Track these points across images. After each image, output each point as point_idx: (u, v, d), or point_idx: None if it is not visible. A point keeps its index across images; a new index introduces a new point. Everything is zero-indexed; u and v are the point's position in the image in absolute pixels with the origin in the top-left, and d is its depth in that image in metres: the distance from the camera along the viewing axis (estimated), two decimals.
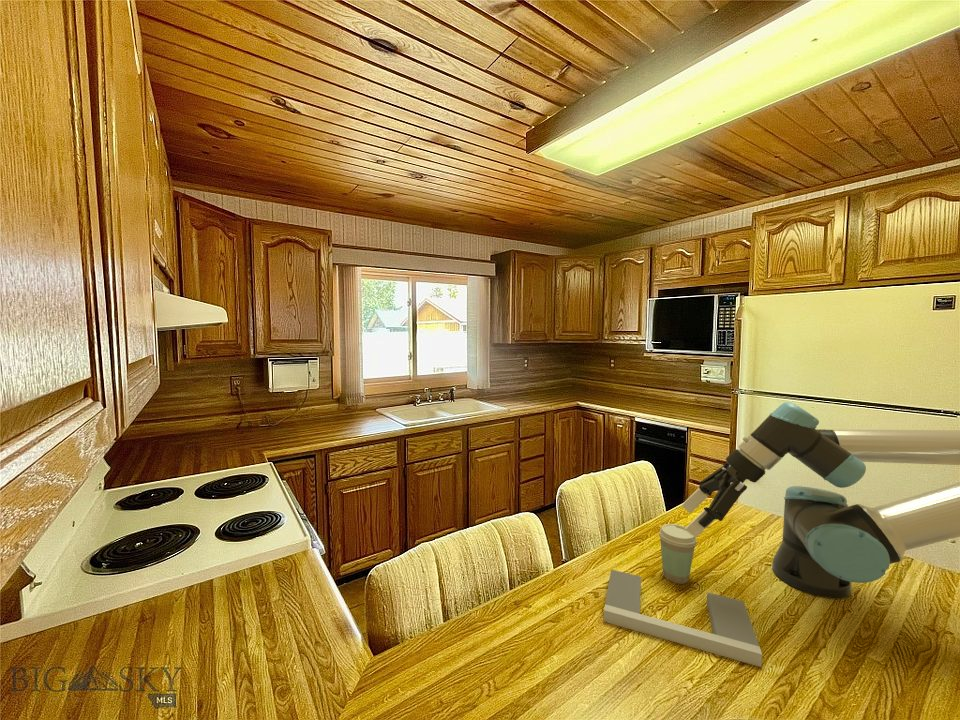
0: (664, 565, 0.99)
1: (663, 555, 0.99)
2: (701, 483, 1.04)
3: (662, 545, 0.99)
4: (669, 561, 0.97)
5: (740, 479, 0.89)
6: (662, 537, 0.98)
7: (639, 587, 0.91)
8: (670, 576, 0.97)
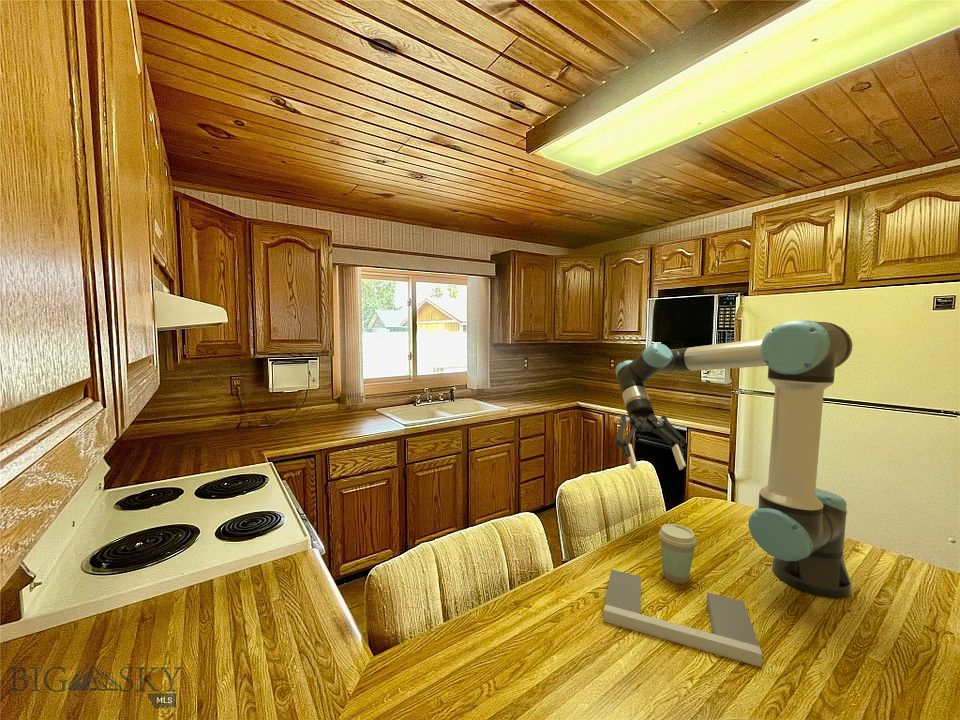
0: (664, 565, 0.99)
1: (663, 555, 0.99)
2: None
3: (662, 545, 0.99)
4: (669, 561, 0.97)
5: (630, 416, 1.19)
6: (662, 537, 0.98)
7: (639, 587, 0.91)
8: (670, 576, 0.97)
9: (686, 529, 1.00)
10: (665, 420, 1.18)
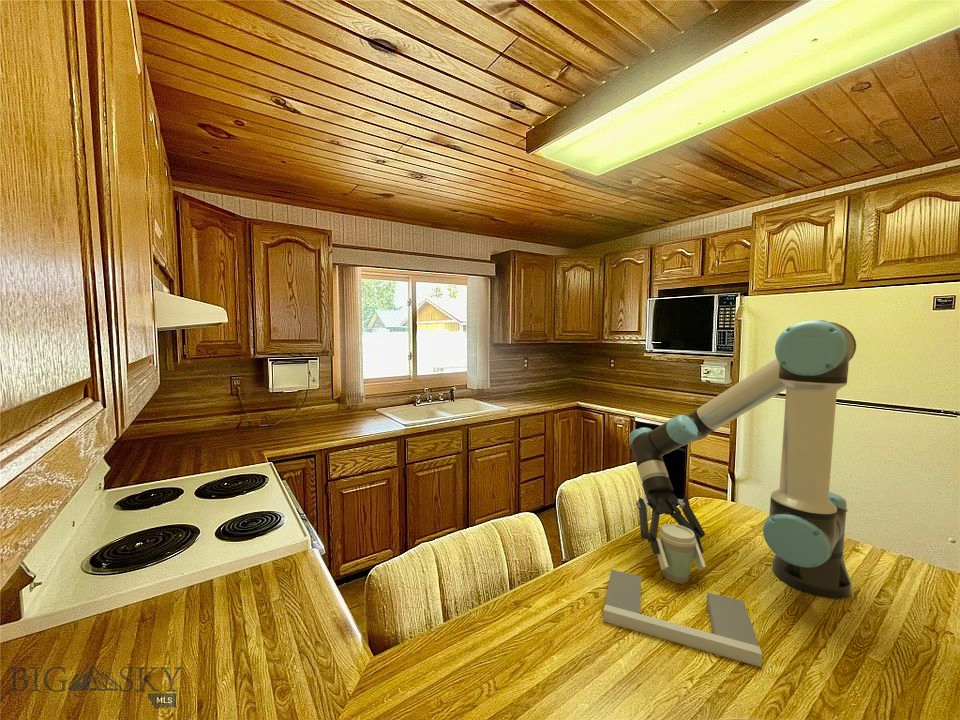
0: None
1: None
2: None
3: (662, 545, 0.99)
4: (669, 561, 0.97)
5: (646, 497, 1.07)
6: (662, 537, 0.98)
7: (639, 587, 0.91)
8: (670, 576, 0.97)
9: (686, 529, 1.00)
10: (686, 504, 1.05)
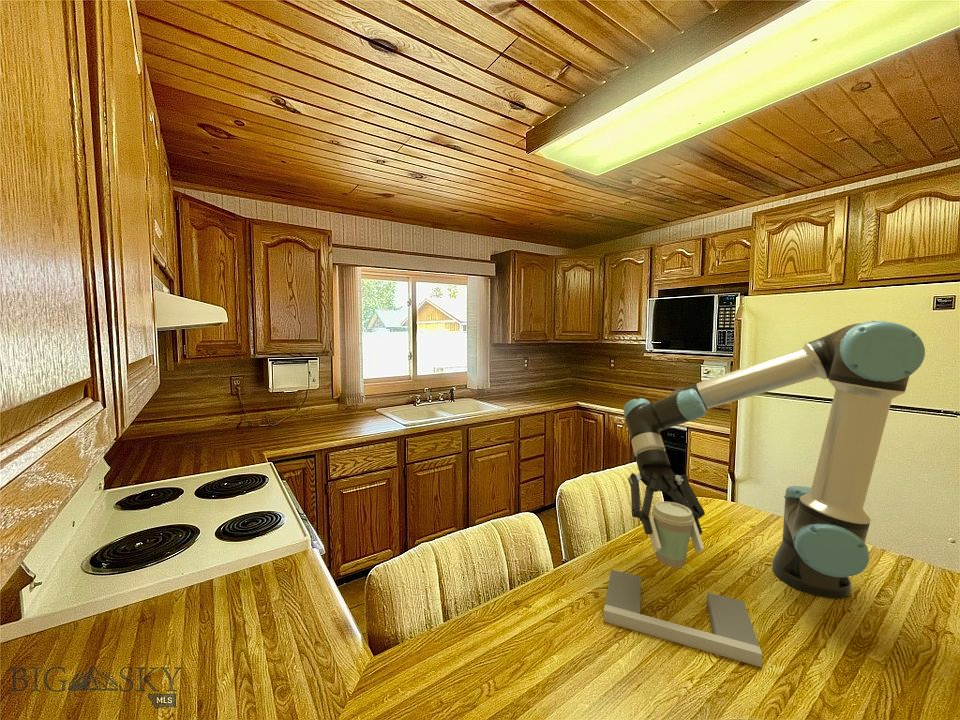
0: None
1: None
2: None
3: (655, 524, 0.88)
4: (662, 542, 0.86)
5: (640, 472, 0.96)
6: (655, 515, 0.87)
7: (639, 587, 0.91)
8: (664, 559, 0.87)
9: (683, 507, 0.89)
10: (685, 481, 0.94)
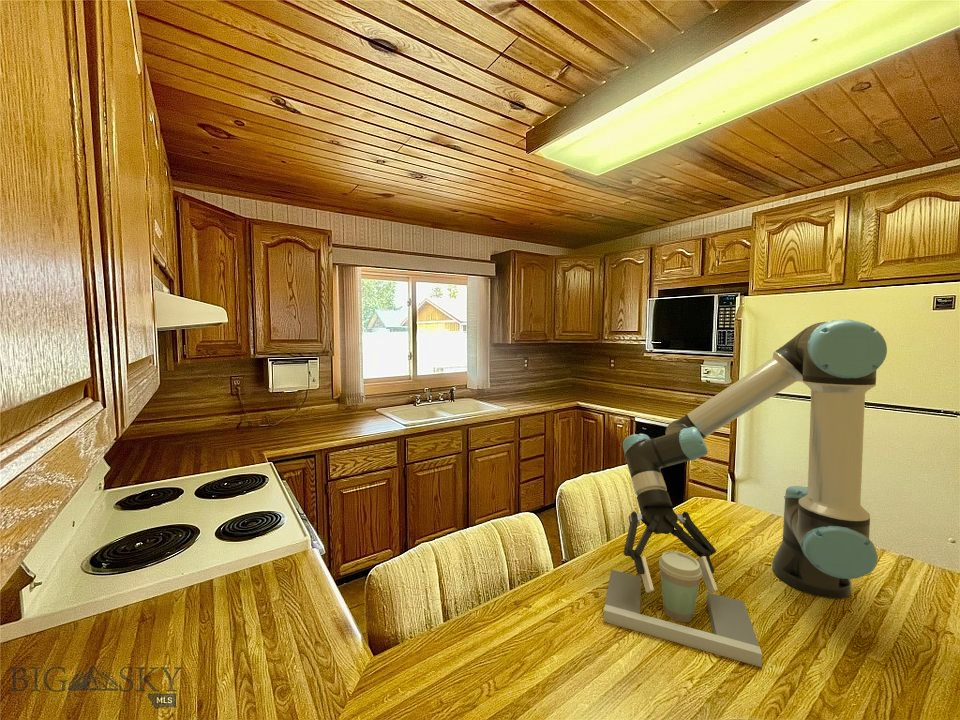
0: (665, 600, 0.86)
1: (664, 588, 0.86)
2: None
3: (662, 577, 0.86)
4: (671, 596, 0.84)
5: None
6: (663, 568, 0.85)
7: (639, 587, 0.91)
8: (672, 613, 0.84)
9: (690, 558, 0.87)
10: (687, 519, 0.92)
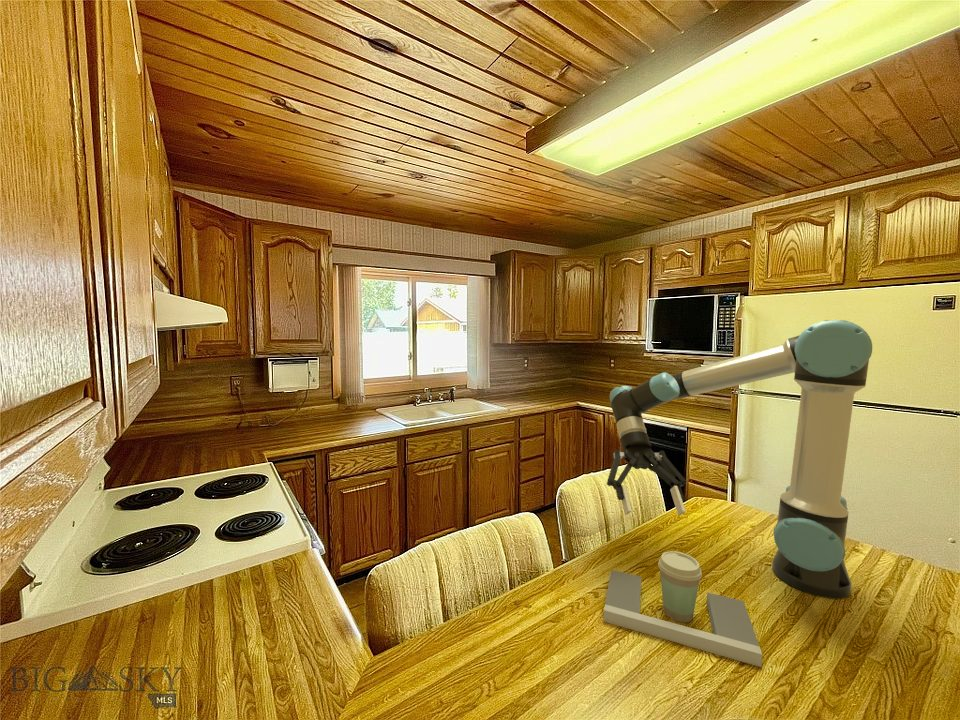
0: (665, 600, 0.86)
1: (664, 589, 0.85)
2: None
3: (662, 577, 0.85)
4: (670, 597, 0.84)
5: None
6: (662, 568, 0.85)
7: (639, 587, 0.91)
8: (672, 613, 0.84)
9: (689, 558, 0.87)
10: (663, 456, 1.06)
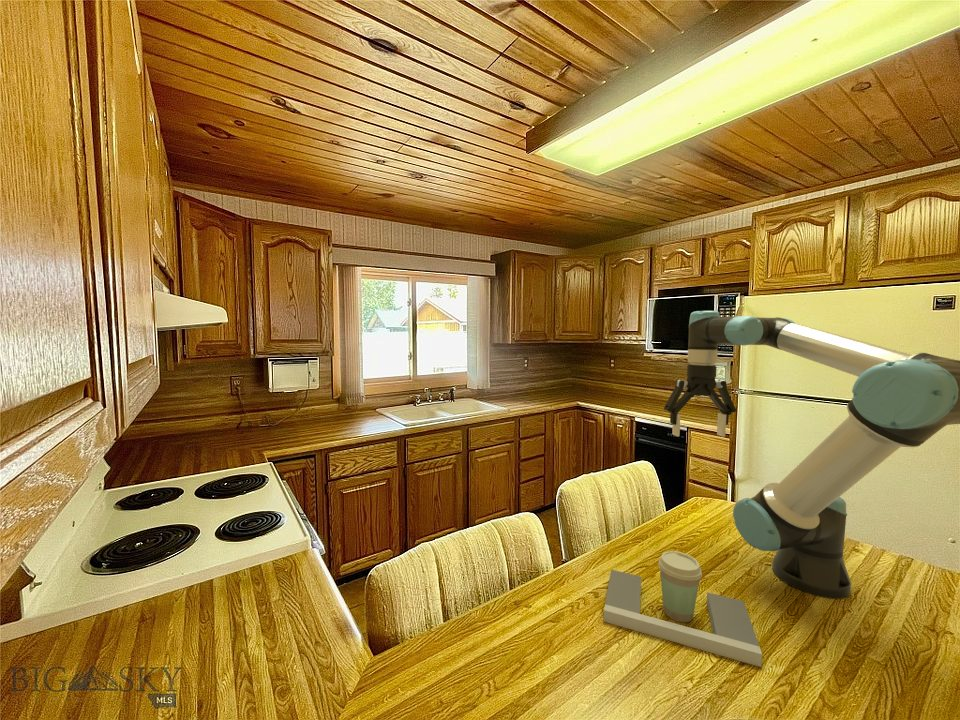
0: (665, 600, 0.86)
1: (664, 589, 0.86)
2: None
3: (662, 577, 0.86)
4: (671, 596, 0.84)
5: (689, 380, 1.15)
6: (662, 568, 0.85)
7: (639, 587, 0.91)
8: (672, 613, 0.84)
9: (689, 558, 0.87)
10: (724, 387, 1.14)
